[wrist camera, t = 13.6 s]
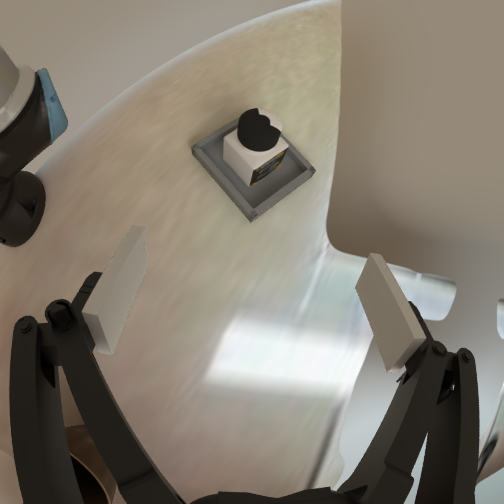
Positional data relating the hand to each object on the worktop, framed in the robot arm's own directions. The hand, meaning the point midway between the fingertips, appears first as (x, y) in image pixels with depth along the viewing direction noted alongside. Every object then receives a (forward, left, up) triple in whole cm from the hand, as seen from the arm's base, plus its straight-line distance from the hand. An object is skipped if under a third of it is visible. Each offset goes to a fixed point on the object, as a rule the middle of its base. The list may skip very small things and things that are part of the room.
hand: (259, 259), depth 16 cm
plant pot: (+7, -38, -28) cm, 47 cm away
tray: (-14, +15, -28) cm, 35 cm away
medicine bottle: (-14, +15, -27) cm, 34 cm away
